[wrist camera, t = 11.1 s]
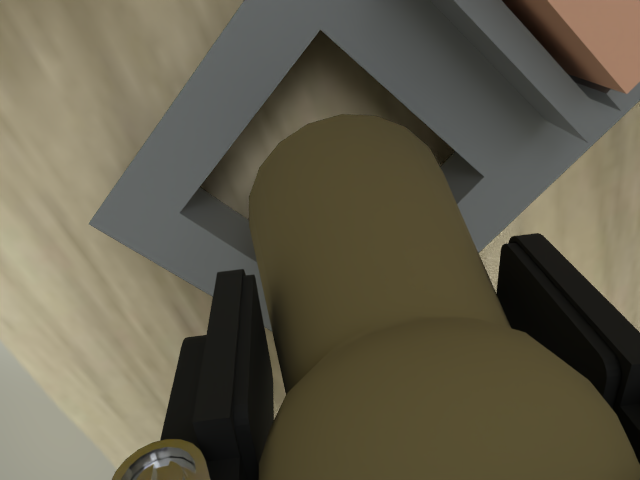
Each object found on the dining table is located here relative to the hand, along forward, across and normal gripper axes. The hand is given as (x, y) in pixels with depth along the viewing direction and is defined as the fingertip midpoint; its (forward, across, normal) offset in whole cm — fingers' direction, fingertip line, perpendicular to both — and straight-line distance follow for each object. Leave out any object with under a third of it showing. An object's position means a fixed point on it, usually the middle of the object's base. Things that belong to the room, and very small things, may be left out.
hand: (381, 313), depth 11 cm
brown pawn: (+5, 0, 0) cm, 5 cm away
